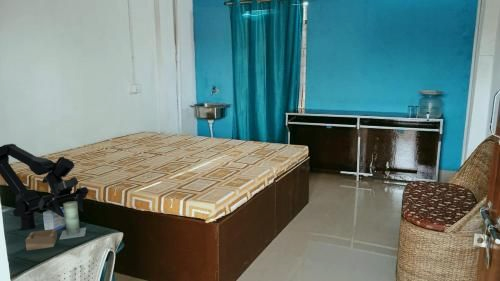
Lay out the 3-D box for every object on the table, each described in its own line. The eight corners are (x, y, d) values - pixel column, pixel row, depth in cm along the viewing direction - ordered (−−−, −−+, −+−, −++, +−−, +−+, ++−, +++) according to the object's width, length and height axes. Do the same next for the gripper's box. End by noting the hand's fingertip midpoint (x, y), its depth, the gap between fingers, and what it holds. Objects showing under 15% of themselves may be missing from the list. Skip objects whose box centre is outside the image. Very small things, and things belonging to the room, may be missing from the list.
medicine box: (53, 232, 152) (51, 212, 151) (44, 232, 153) (42, 212, 152) (66, 226, 160) (65, 206, 158) (57, 225, 160) (56, 206, 159)
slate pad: (63, 231, 152) (62, 230, 152) (86, 228, 155) (86, 227, 155) (59, 239, 144) (59, 238, 144) (84, 236, 147) (84, 234, 147)
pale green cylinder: (67, 231, 151) (64, 202, 149) (80, 229, 152) (77, 200, 151) (65, 235, 146) (62, 205, 145) (79, 233, 148) (76, 203, 146)
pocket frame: (32, 241, 142) (31, 232, 142) (57, 238, 145) (56, 228, 145) (26, 250, 134) (25, 240, 133) (53, 246, 137) (52, 236, 136)
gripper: (38, 176, 141) (55, 208, 136) (84, 168, 156) (101, 196, 151) (31, 193, 147) (47, 225, 142) (76, 184, 162) (92, 212, 157)
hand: (73, 214), depth 148 cm, fingers open, 8 cm apart
